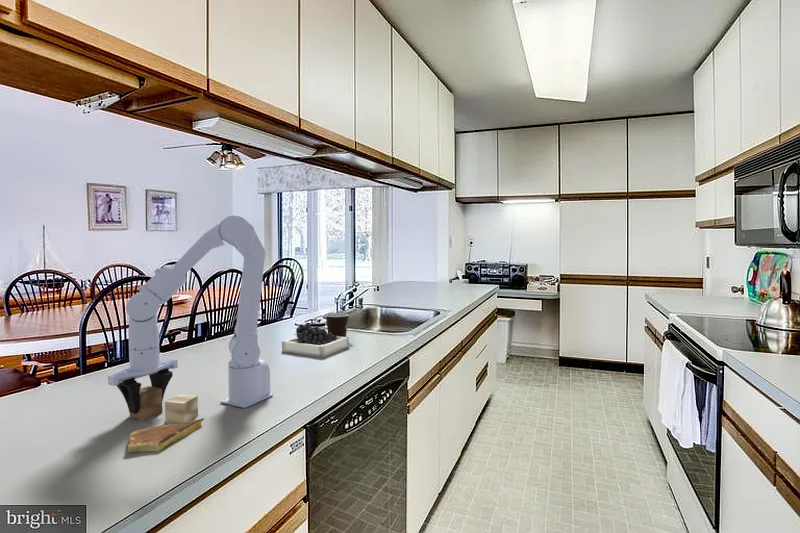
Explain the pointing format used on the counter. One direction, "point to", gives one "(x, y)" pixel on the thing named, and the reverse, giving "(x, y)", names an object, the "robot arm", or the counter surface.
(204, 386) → the counter surface
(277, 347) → the counter surface
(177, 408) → the maple block
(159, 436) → the shard
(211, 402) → the counter surface
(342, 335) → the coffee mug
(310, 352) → the fruit dish
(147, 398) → the walnut block
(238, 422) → the counter surface
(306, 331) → the fruit
